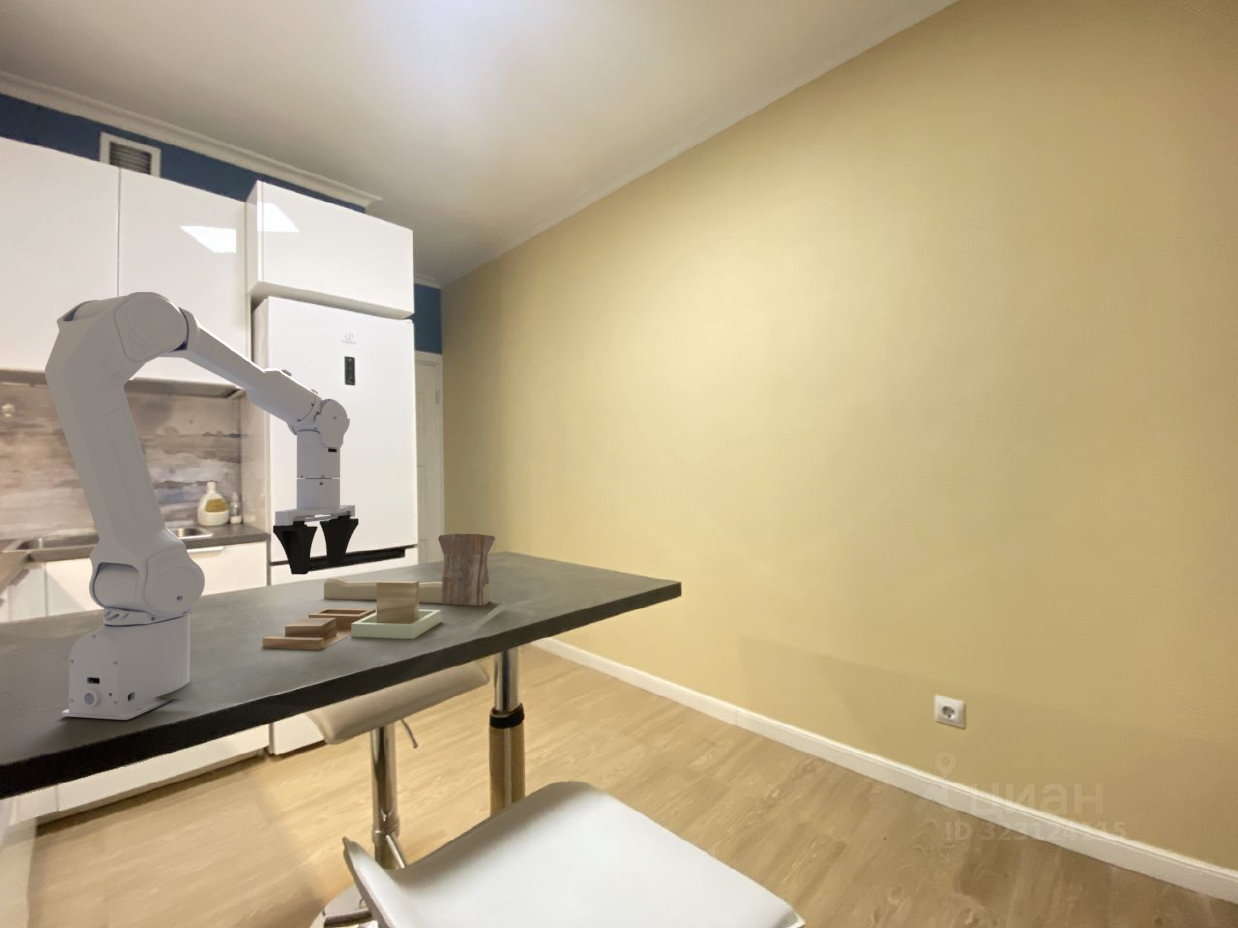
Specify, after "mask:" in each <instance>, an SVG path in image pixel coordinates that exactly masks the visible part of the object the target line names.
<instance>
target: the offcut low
mask: <svg viewBox="0 0 1238 928" xmlns="http://www.w3.org/2000/svg"><path fill="white" fill-rule="evenodd" d="M336 635H337V627H334V628H332V629H330V630H328V631H327V632H325V633H323V634H321V635H285V634H284V637H312V638H324V641H325V640H327V639H329V638H331V637H334V636H336Z"/></svg>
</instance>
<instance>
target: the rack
mask: <svg viewBox="0 0 1238 928" xmlns="http://www.w3.org/2000/svg"><path fill="white" fill-rule="evenodd" d="M376 612H377V608H359V607H358V608H355V607H354V608H350V607H325V608H322V609H319V610H317V611H315V612H312V613H310V614H308V618H336V626H335V627H337V635H336V636H334V637H331V638H329V639H327V640H325V641H324V638H312V637H285V635H284V636H282V635H281V636H280V635H279V636H278V635H267V636H265V637H262V646H261V648H267V649H268V648H269V649H272V648H273V649H293V650H294V649H296V650H298V649H299V650H323V649H325V648H327V647H330V646H331V645H334V644H335V643H338V642H339V641H342V640H344V639H346V638H347V637H351V624H352V623H354V622H356V621H358V620H361V619H363V618H365V617H367V616H369V615H371V614H374V613H376Z"/></svg>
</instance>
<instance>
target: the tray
mask: <svg viewBox="0 0 1238 928" xmlns="http://www.w3.org/2000/svg"><path fill="white" fill-rule="evenodd" d="M441 622H442V609H421V608H419V620H417V621H415V622H414V623H412V624H394V623H377V611H376V613H374V614H371V615H369V616H367V617H365V618H363V619H361V620H358V621H356V622H354V623H352V624H351V635H350V637H353V638H381V639H382V638H383V639H408V640H409V639H412V640H414V639H415V638H417V637H419V636H420V635H421V634H423V633H425V632H427V631H428V630H430V629H432V628H433V627H435V626H437V625H438V624H440V623H441Z"/></svg>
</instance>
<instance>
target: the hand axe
mask: <svg viewBox="0 0 1238 928" xmlns="http://www.w3.org/2000/svg"><path fill="white" fill-rule="evenodd" d="M437 539H438V542H439V544H440V547H441V550H442V554H443V563H444V565H443V571H442V576H441V577H442V579H441V581H428V582H419V603H423V604H424V603H425V604H426V603H429V604H431V603H432V604H442V605H461V606H479V607H480V606H485V605H487V604H488V603H490V579H489V570H488V555H489V553H490V550H491V548H492V546H493V544H494V543H495V542H494V541H495V540H496V537H495V536H494V535H489V534H488V535H487V534H480V533H451V534H441V535H439V536H438V538H437ZM390 580H391V581H393V580H392V579H390ZM379 581H380V580H361V581H359V580H357V581H352V580H350V579H346V578H344V577H337V576H336V577H335V576H334V577H329V578H327V579H326V580H325V581H324V582H323V599H331V600H334V599H335V600H359V601H360V600H363V601H377V582H379Z"/></svg>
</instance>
